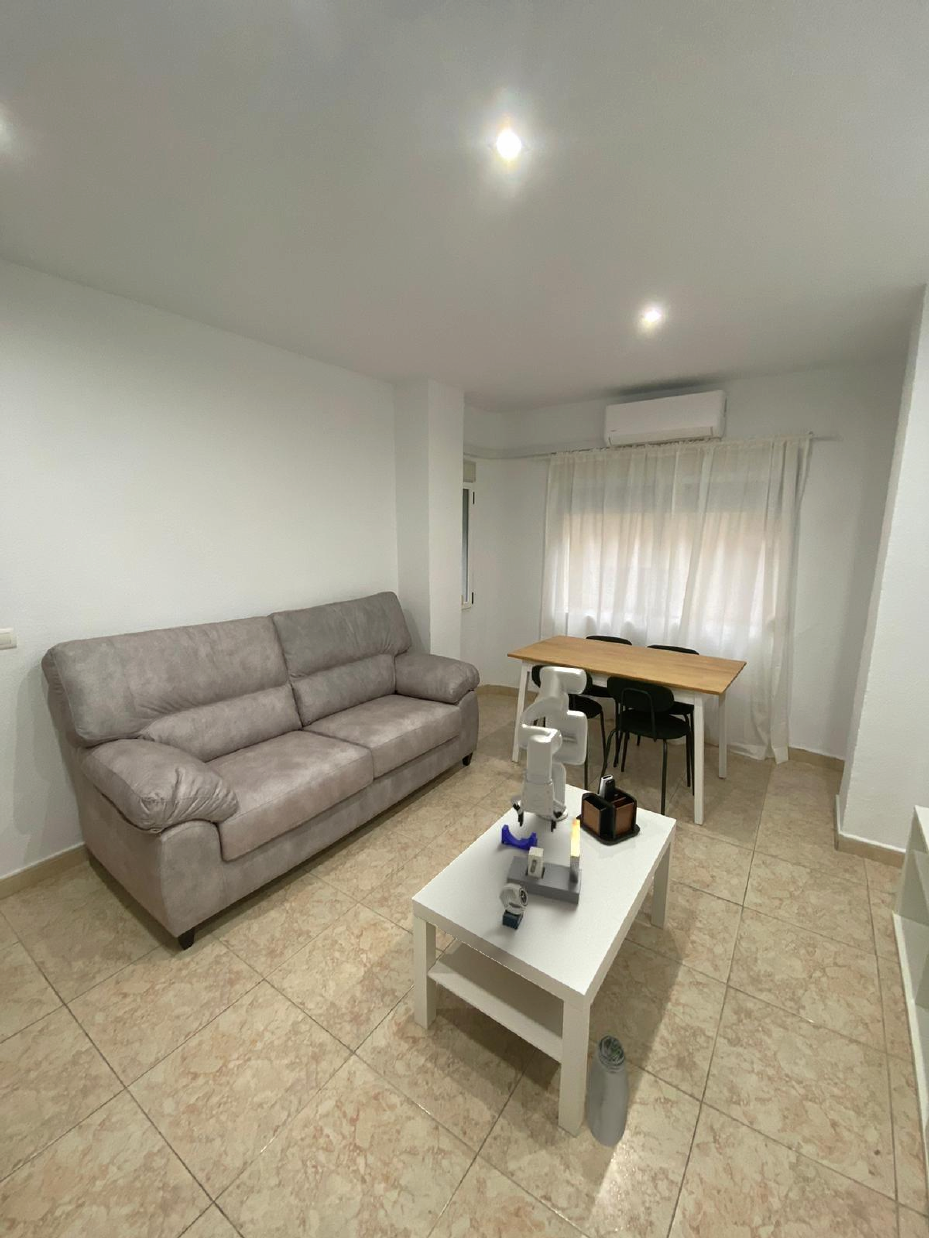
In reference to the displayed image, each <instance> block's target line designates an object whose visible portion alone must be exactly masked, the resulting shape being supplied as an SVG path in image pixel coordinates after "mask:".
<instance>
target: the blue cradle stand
mask: <svg viewBox="0 0 929 1238" xmlns="http://www.w3.org/2000/svg"><path fill="white" fill-rule="evenodd" d="M500 842H501V844H503V845H505V846H508V847H509V846H510V847H513V848H516V849H519V850H523V851H527V852H529V851H530V848H531V847H536V848H538V847H537V846H538V838H537V832H534V831H532V832H531V834H530V835H529V837H521V838H520V839H518V838H517V837H515V836H514V835H513V834H512V833H511V831H510V827H509V825H508V824H506V823H505V824H504V825H502V827H501V838H500Z"/></svg>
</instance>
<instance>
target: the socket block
mask: <svg viewBox="0 0 929 1238" xmlns="http://www.w3.org/2000/svg"><path fill="white" fill-rule="evenodd" d="M528 859H529V857H524V856H523V857H522V856H519V855H518V856H517V855H514V856H513V858H512V861H511V864H510V867H509V870H508V873H507V876H506V884H508V883H514V884H517V885H520V886H521V887H523V888H524V889H525V890H526V892H527V895H528V894H529V895H533V896H536V897H537V896H538V897H541V898H546V899H547V898H548V899H551V900H556V901H560V902H565V903H570V904H573V905H574V904H575V905H579V902H580V894H581V884H582V871H583V870H582V868H581V869H580V868H579V879H578V881H577V882H572V881H570V879H569V873H570V866H567V865H561V864H557V863H552V862H546V861H543V871H542V879H540V878H535V877H531V876H528ZM509 890H511V889H509ZM511 891H512V890H511Z"/></svg>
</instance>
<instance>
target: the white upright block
mask: <svg viewBox="0 0 929 1238" xmlns="http://www.w3.org/2000/svg"><path fill="white" fill-rule="evenodd" d="M543 862H544V848H540V847H531V848H530V850H529V851H528V876H531V877H535V878H540V879H542V871H543Z"/></svg>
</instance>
